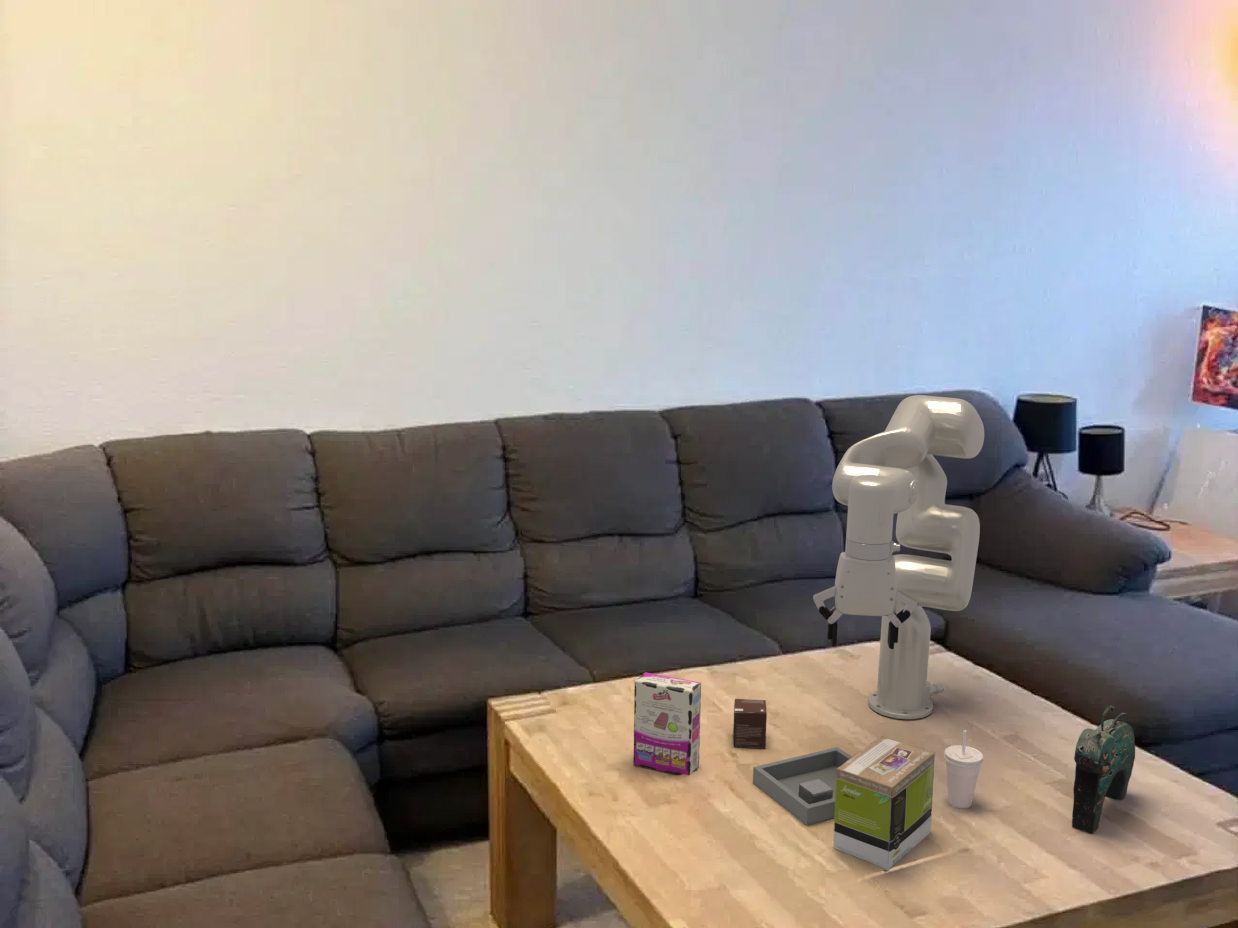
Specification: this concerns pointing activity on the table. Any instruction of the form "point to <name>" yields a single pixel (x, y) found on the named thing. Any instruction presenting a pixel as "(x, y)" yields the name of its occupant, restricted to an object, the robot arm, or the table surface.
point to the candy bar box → (667, 724)
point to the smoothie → (962, 773)
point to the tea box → (883, 801)
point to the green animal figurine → (1101, 769)
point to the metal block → (815, 791)
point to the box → (749, 723)
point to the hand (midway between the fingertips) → (861, 644)
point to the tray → (789, 773)
